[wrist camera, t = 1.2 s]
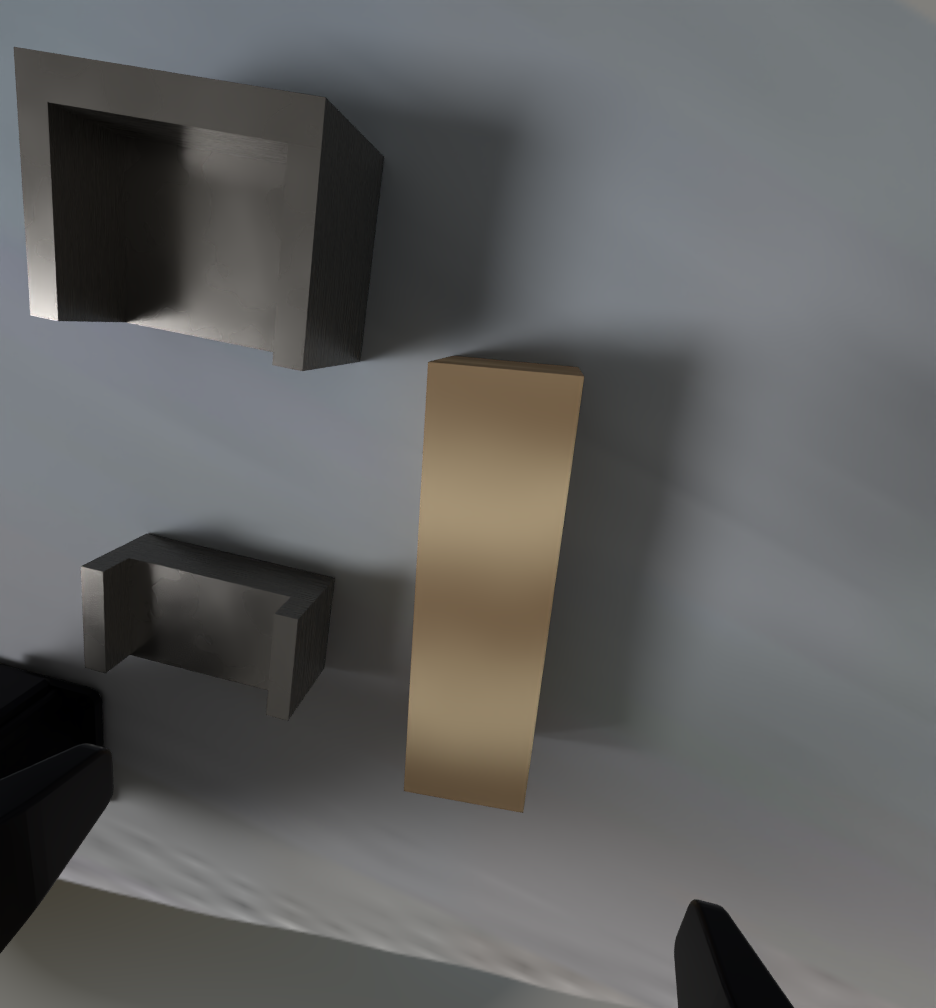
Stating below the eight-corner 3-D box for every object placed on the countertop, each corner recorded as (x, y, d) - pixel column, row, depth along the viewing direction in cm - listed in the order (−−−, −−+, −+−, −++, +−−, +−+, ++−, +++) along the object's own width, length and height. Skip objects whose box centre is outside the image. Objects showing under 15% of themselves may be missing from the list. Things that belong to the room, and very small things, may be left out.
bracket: (359, 361, 19) (302, 371, 14) (146, 318, 19) (30, 315, 15) (383, 156, 17) (325, 97, 12) (146, 116, 17) (13, 46, 13)
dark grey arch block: (324, 667, 22) (288, 721, 19) (146, 623, 23) (85, 667, 20) (334, 578, 21) (297, 619, 18) (146, 533, 22) (80, 566, 19)
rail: (528, 730, 22) (523, 812, 18) (428, 714, 23) (404, 791, 19) (578, 366, 18) (584, 376, 14) (453, 355, 18) (428, 361, 15)
